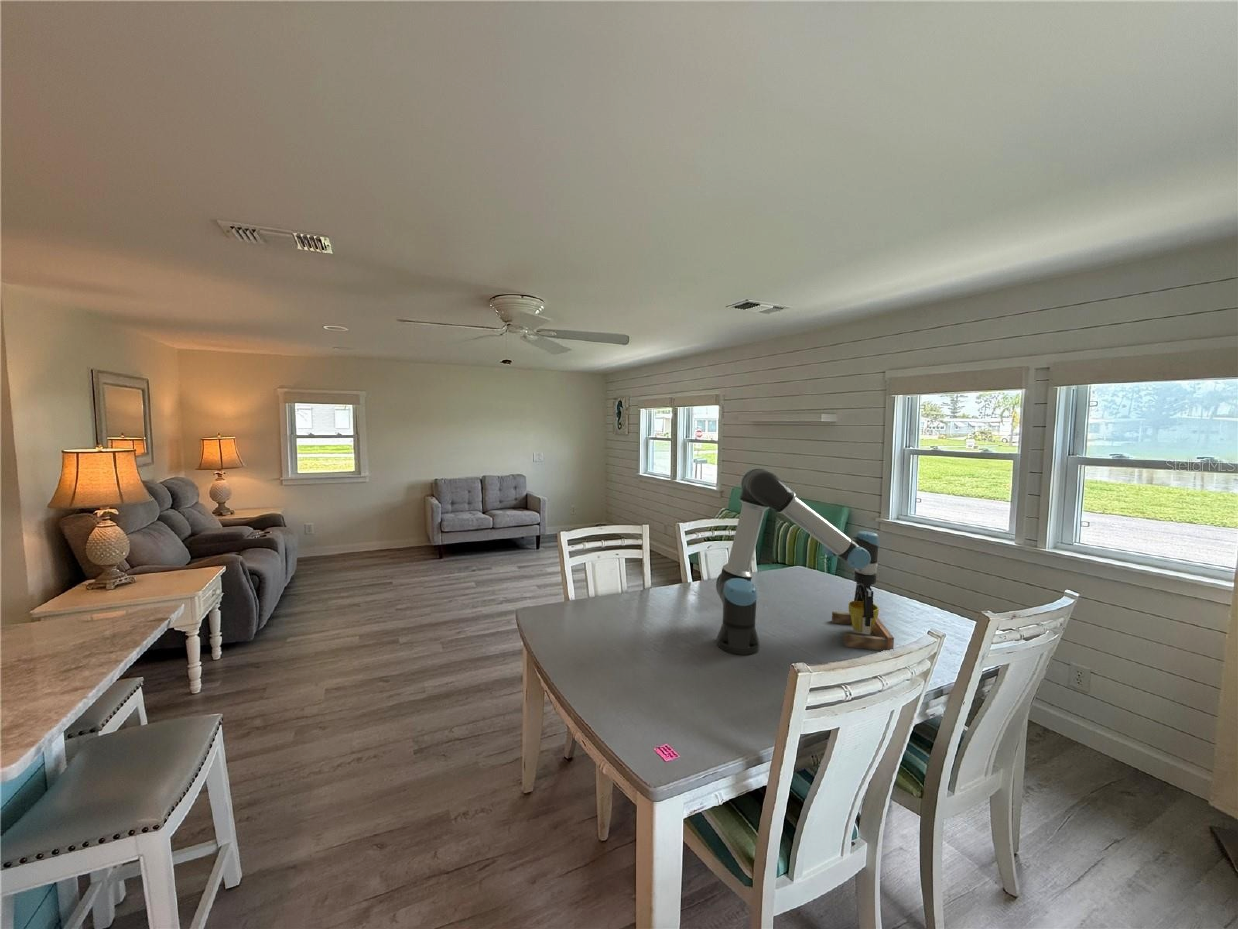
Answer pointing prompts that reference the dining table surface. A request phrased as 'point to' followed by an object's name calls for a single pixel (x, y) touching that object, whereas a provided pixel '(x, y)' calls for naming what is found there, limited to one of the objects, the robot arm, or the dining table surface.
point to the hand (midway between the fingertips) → (862, 627)
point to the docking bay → (869, 642)
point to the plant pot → (860, 615)
